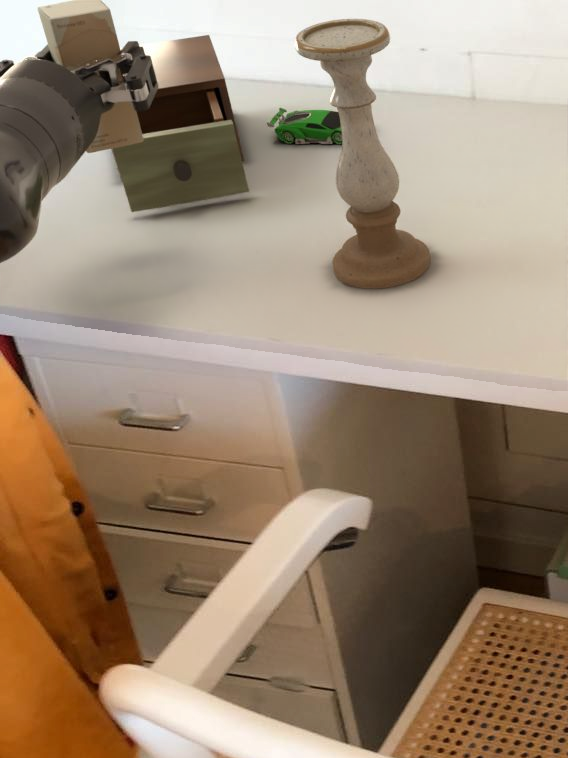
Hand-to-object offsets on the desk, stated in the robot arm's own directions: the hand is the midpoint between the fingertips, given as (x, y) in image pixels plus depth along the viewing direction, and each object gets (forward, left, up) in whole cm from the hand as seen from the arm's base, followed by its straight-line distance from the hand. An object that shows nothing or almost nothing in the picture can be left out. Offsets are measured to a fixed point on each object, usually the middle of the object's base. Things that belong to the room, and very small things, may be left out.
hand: (96, 54), depth 111 cm
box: (-1, -2, -7) cm, 7 cm away
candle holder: (+19, -13, -18) cm, 29 cm away
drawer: (+4, +13, -17) cm, 21 cm away
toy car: (+19, +20, -18) cm, 33 cm away
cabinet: (+4, +24, -18) cm, 30 cm away
